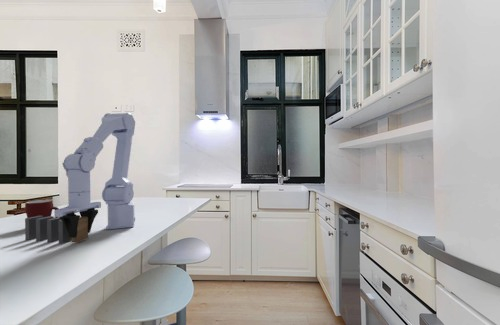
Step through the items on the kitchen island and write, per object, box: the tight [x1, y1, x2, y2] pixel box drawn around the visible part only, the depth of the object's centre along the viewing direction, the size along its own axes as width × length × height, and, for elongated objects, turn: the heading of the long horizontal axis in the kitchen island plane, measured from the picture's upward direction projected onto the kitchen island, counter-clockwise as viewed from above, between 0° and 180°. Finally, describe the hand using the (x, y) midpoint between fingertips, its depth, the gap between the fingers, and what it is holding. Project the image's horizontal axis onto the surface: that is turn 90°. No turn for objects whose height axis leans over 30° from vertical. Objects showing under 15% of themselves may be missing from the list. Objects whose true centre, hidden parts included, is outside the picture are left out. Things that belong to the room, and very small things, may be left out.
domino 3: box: [46, 217, 61, 243], centre depth 80 cm, size 2×4×7 cm, turn 167°
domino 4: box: [58, 220, 72, 244], centre depth 79 cm, size 2×4×7 cm, turn 167°
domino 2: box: [35, 215, 54, 242], centre depth 81 cm, size 2×4×7 cm, turn 167°
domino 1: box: [24, 216, 43, 241], centre depth 82 cm, size 2×4×7 cm, turn 167°
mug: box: [24, 199, 60, 218], centre depth 96 cm, size 10×8×10 cm
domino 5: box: [71, 216, 89, 243], centre depth 78 cm, size 2×4×7 cm, turn 167°
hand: (80, 234), depth 78 cm, fingers closed on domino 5, 4 cm apart
